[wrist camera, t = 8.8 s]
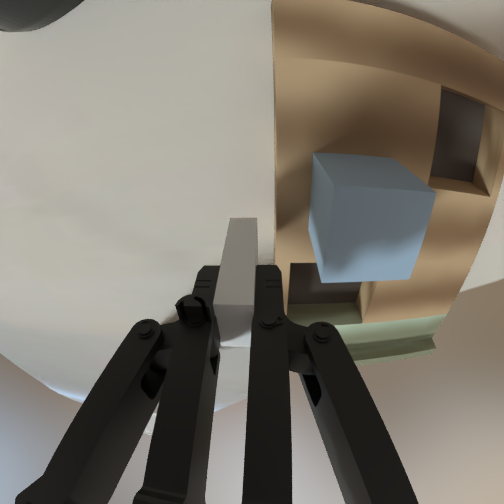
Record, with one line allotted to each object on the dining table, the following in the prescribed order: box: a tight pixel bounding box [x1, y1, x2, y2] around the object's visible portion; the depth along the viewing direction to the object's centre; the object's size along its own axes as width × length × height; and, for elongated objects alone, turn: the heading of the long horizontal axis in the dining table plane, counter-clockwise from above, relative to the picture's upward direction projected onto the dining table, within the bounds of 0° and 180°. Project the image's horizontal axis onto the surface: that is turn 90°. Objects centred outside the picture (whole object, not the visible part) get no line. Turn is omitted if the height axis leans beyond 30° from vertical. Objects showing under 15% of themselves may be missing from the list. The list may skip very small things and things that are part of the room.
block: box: [308, 152, 437, 283], centre depth 13 cm, size 5×5×5 cm
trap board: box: [271, 0, 504, 366], centre depth 17 cm, size 29×18×4 cm, turn 2°
